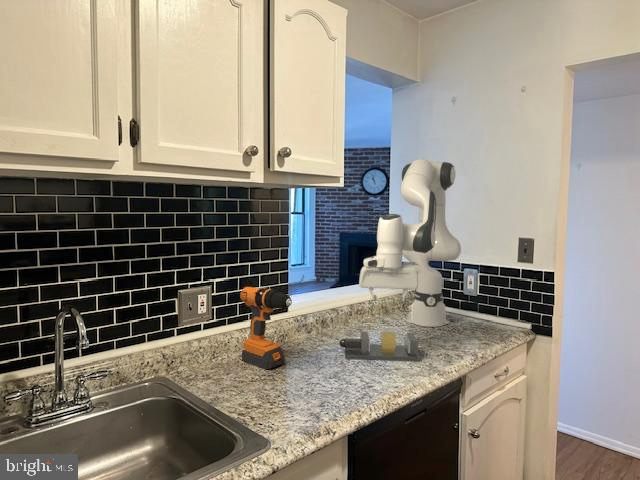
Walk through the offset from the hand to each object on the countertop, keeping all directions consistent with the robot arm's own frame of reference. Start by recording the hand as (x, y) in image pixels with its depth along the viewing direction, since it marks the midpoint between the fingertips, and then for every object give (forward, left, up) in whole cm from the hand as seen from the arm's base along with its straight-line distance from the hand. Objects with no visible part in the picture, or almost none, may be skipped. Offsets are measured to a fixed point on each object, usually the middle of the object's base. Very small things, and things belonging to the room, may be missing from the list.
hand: (387, 300), depth 153 cm
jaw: (0, -11, -18) cm, 21 cm away
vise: (0, -2, -19) cm, 19 cm away
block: (0, +1, -18) cm, 18 cm away
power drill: (+14, -39, -19) cm, 46 cm away
